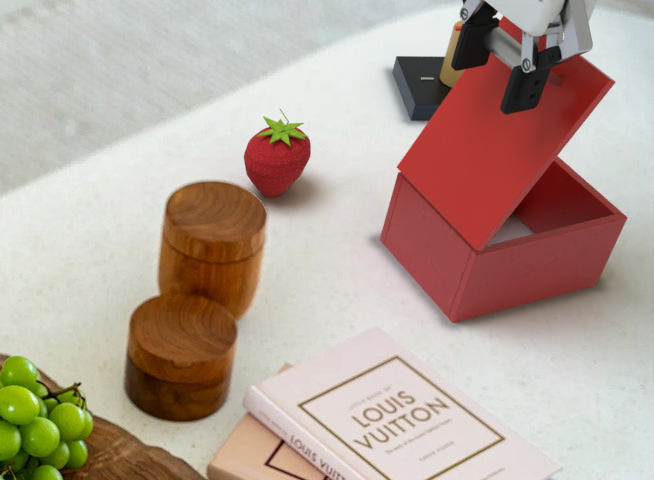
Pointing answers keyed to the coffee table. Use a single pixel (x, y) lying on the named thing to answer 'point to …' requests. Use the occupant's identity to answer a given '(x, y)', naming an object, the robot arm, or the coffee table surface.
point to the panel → (420, 85)
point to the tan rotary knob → (448, 72)
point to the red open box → (506, 246)
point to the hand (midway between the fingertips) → (492, 85)
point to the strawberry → (276, 156)
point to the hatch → (498, 136)
